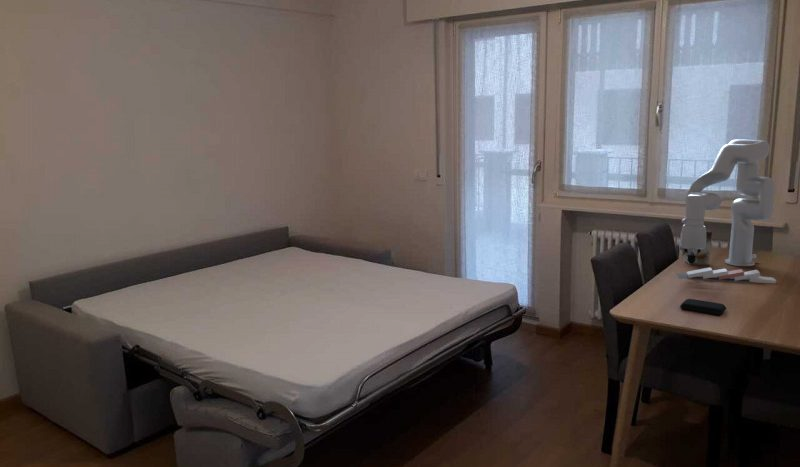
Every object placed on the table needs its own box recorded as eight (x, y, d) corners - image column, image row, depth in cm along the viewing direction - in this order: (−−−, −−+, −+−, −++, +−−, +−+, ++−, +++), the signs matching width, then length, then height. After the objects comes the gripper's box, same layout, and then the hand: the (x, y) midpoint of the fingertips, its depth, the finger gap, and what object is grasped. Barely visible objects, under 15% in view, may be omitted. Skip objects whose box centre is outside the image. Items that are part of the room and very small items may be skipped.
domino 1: (687, 274, 273) (712, 270, 269) (686, 271, 277) (710, 267, 274) (688, 278, 273) (713, 273, 269) (687, 275, 278) (711, 270, 274)
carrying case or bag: (727, 310, 232) (685, 303, 240) (728, 302, 231) (686, 296, 240) (721, 318, 223) (678, 311, 232) (722, 310, 223) (679, 303, 232)
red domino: (718, 276, 269) (743, 271, 266) (716, 273, 274) (741, 268, 270) (719, 279, 269) (744, 275, 266) (717, 276, 274) (742, 272, 270)
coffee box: (689, 264, 297) (692, 231, 294) (684, 261, 304) (687, 229, 300) (709, 264, 297) (712, 232, 293) (704, 261, 303) (706, 229, 300)
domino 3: (734, 277, 267) (759, 272, 264) (731, 274, 272) (756, 269, 268) (734, 280, 267) (760, 275, 264) (732, 277, 272) (757, 273, 268)
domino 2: (702, 275, 271) (727, 271, 268) (700, 272, 276) (725, 268, 272) (703, 278, 271) (728, 274, 268) (701, 276, 276) (726, 271, 272)
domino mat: (678, 279, 273) (678, 278, 273) (676, 274, 280) (676, 273, 280) (755, 283, 264) (755, 283, 264) (751, 279, 271) (751, 278, 271)
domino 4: (750, 278, 265) (776, 280, 262) (747, 275, 270) (773, 277, 267) (749, 281, 266) (775, 284, 263) (746, 278, 270) (772, 281, 267)
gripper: (676, 223, 269) (673, 264, 273) (714, 224, 264) (711, 266, 268) (674, 220, 276) (671, 260, 280) (711, 221, 271) (708, 262, 275)
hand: (691, 263), depth 274 cm, fingers closed
